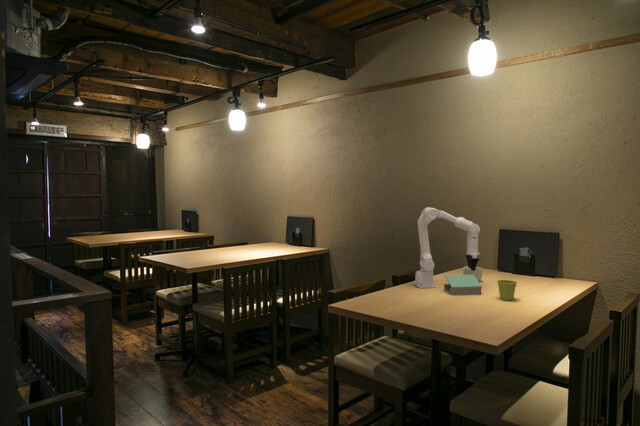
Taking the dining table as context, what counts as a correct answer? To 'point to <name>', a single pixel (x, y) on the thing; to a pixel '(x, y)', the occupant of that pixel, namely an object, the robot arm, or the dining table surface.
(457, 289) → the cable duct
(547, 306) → the dining table surface
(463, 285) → the lid
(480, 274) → the teacup
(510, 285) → the plant pot
